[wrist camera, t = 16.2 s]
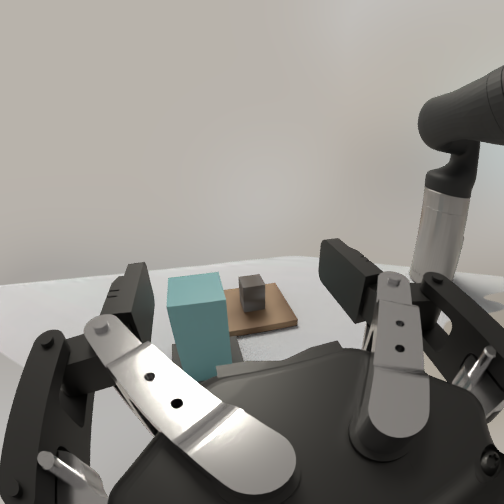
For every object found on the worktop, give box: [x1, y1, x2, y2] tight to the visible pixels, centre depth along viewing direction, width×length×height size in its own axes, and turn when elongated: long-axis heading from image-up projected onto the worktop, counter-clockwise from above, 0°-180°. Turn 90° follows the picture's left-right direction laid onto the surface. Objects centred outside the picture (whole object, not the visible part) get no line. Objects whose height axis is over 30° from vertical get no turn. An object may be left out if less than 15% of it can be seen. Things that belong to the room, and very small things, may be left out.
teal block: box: [167, 272, 232, 382], centre depth 26 cm, size 5×5×10 cm
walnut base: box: [223, 274, 298, 337], centre depth 38 cm, size 10×10×5 cm
